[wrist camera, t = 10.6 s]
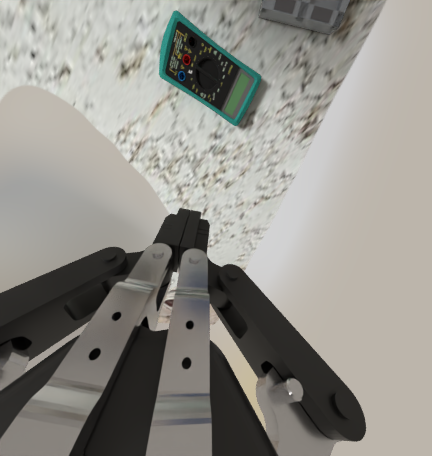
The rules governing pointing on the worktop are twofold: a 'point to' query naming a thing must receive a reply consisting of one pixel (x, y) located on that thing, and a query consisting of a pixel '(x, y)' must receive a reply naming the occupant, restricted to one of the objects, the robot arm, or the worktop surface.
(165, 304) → the wineglass
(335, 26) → the gray tray
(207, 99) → the digital multimeter
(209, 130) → the worktop surface
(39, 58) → the worktop surface
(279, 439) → the robot arm
